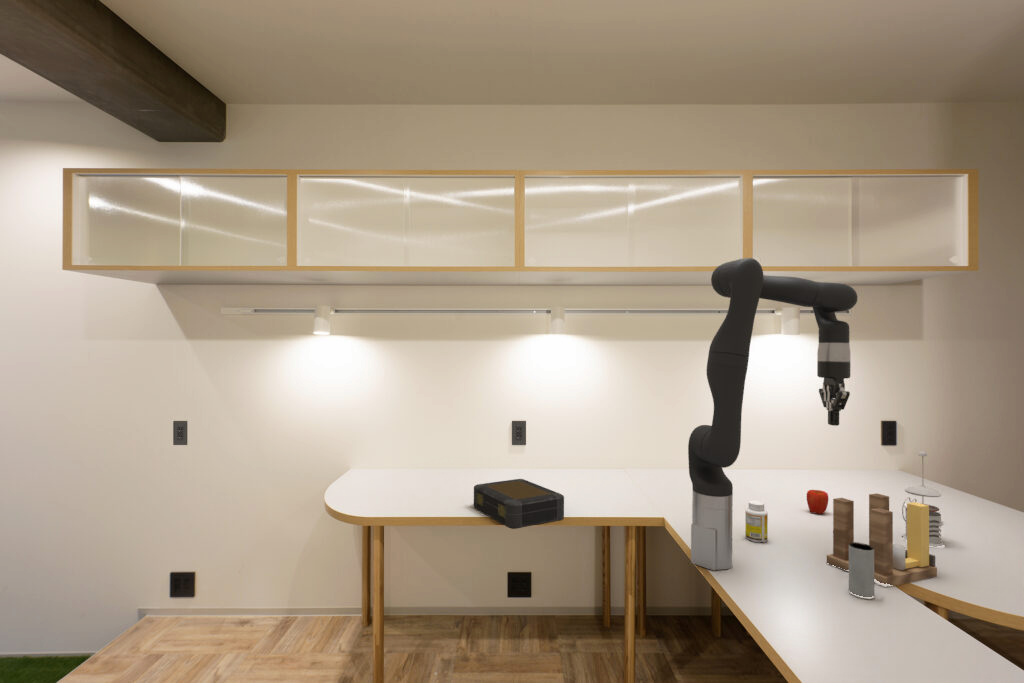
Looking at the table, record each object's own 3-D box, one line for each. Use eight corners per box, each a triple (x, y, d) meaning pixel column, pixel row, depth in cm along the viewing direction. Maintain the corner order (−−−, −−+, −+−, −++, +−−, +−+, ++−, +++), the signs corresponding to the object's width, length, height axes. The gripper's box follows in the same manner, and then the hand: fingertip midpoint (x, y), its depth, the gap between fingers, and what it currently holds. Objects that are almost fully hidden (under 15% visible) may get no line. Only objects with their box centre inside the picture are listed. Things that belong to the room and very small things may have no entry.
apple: (817, 516, 164) (817, 493, 164) (801, 511, 170) (801, 488, 170) (833, 515, 166) (833, 492, 166) (817, 509, 172) (817, 487, 172)
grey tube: (851, 597, 109) (851, 548, 109) (846, 588, 113) (846, 541, 113) (877, 601, 107) (877, 551, 107) (870, 591, 111) (870, 544, 112)
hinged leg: (902, 571, 117) (902, 509, 117) (888, 566, 120) (888, 505, 120) (929, 565, 121) (929, 505, 121) (915, 560, 123) (915, 502, 124)
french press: (955, 546, 140) (954, 454, 140) (924, 550, 136) (923, 455, 137) (917, 534, 149) (917, 447, 150) (887, 537, 146) (887, 449, 147)
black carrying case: (567, 519, 158) (567, 494, 158) (511, 531, 147) (511, 503, 147) (523, 499, 179) (523, 477, 179) (471, 508, 168) (471, 484, 168)
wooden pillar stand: (885, 587, 113) (885, 514, 114) (826, 563, 126) (826, 498, 127) (937, 576, 120) (937, 507, 121) (876, 554, 133) (876, 492, 134)
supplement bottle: (760, 536, 145) (760, 499, 146) (771, 543, 140) (772, 505, 140) (741, 536, 145) (741, 499, 145) (752, 543, 139) (752, 505, 140)
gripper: (861, 360, 130) (861, 429, 130) (837, 360, 143) (837, 422, 143) (829, 360, 131) (829, 427, 131) (808, 359, 144) (808, 421, 144)
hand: (833, 425), depth 137 cm, fingers closed
